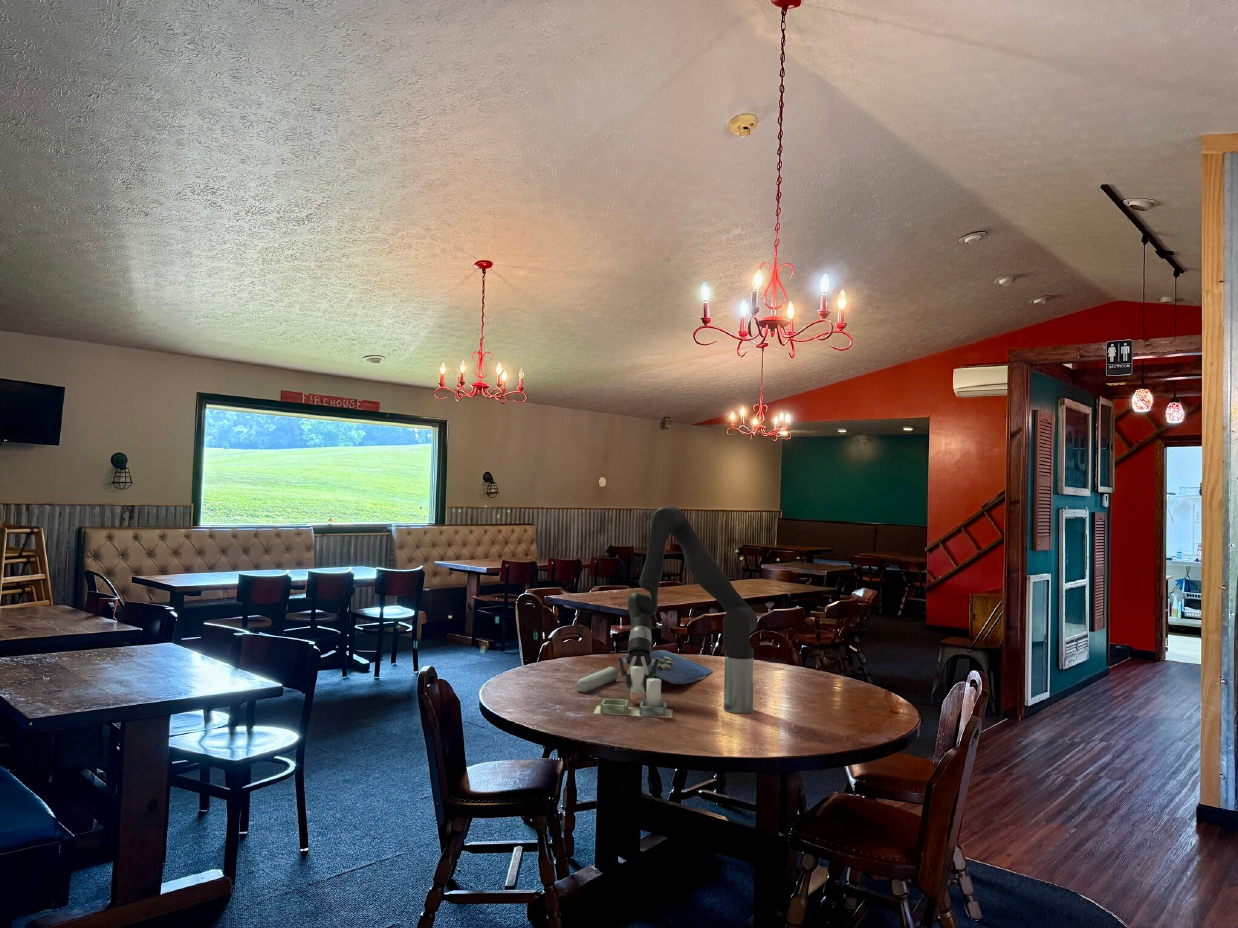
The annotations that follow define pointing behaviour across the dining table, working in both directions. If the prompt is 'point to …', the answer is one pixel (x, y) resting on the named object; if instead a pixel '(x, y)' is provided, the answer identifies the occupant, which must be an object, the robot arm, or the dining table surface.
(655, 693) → the seated sleeve
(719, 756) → the dining table surface
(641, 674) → the white peg
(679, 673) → the serving platter
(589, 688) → the tube
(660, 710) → the board
